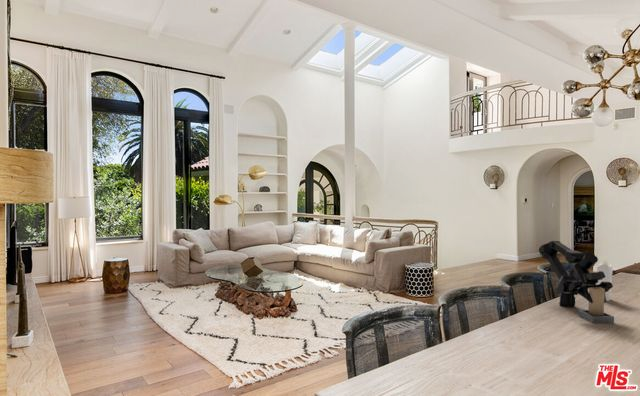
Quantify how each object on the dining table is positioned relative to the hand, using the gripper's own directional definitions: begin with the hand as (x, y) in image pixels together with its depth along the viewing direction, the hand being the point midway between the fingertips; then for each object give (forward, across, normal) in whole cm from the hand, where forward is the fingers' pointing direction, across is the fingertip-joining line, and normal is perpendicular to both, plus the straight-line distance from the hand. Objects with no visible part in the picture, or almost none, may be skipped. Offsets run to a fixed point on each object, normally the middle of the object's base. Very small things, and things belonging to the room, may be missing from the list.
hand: (598, 302), depth 192 cm
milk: (-19, +30, +32) cm, 48 cm away
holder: (+5, 0, +7) cm, 9 cm away
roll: (+4, 0, +6) cm, 7 cm away
